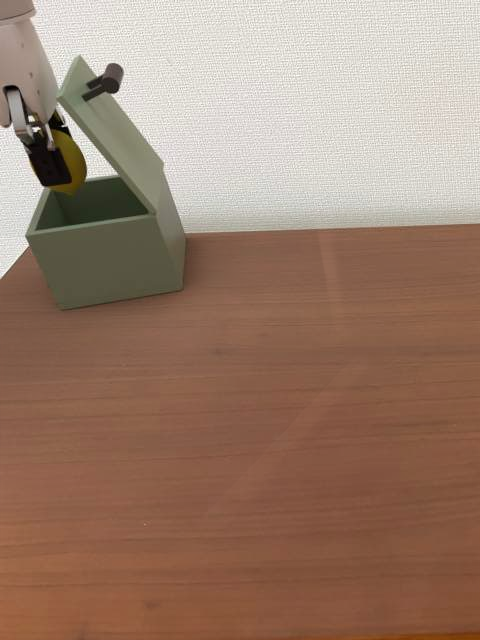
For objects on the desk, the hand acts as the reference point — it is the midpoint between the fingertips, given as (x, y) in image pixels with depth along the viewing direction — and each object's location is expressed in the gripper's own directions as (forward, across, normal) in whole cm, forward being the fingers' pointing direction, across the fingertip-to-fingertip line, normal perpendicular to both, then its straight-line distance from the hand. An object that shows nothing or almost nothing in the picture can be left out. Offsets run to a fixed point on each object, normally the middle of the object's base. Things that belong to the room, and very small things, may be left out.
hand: (61, 171), depth 94 cm
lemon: (+3, 0, 0) cm, 3 cm away
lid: (-3, 0, +7) cm, 7 cm away
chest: (+14, 0, +3) cm, 14 cm away
